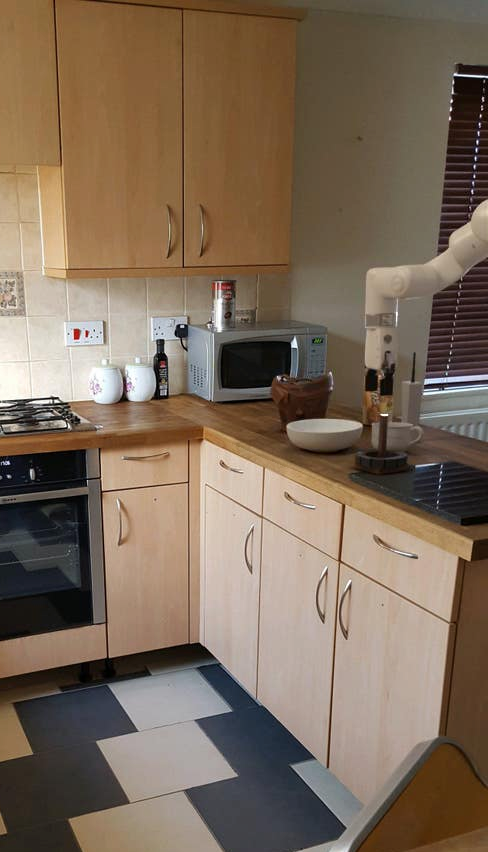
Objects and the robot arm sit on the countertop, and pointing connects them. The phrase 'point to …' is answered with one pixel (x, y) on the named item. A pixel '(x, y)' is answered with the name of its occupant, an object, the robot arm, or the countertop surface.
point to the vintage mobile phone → (411, 401)
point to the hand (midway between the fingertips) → (378, 393)
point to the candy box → (376, 405)
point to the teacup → (397, 436)
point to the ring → (381, 459)
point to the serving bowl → (324, 434)
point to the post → (382, 450)
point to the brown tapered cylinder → (301, 397)
